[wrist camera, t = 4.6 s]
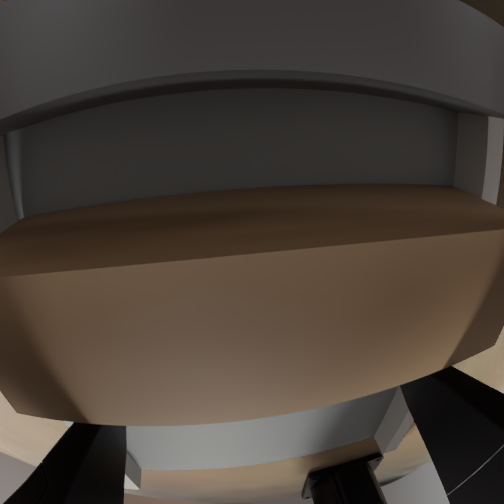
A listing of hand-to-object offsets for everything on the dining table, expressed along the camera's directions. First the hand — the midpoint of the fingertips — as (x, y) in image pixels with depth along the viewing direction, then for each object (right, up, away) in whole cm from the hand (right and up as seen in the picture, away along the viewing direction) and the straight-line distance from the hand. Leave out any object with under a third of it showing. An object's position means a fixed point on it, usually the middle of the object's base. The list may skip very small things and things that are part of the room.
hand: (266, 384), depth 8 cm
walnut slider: (0, +4, +1) cm, 4 cm away
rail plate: (0, +1, +3) cm, 3 cm away
